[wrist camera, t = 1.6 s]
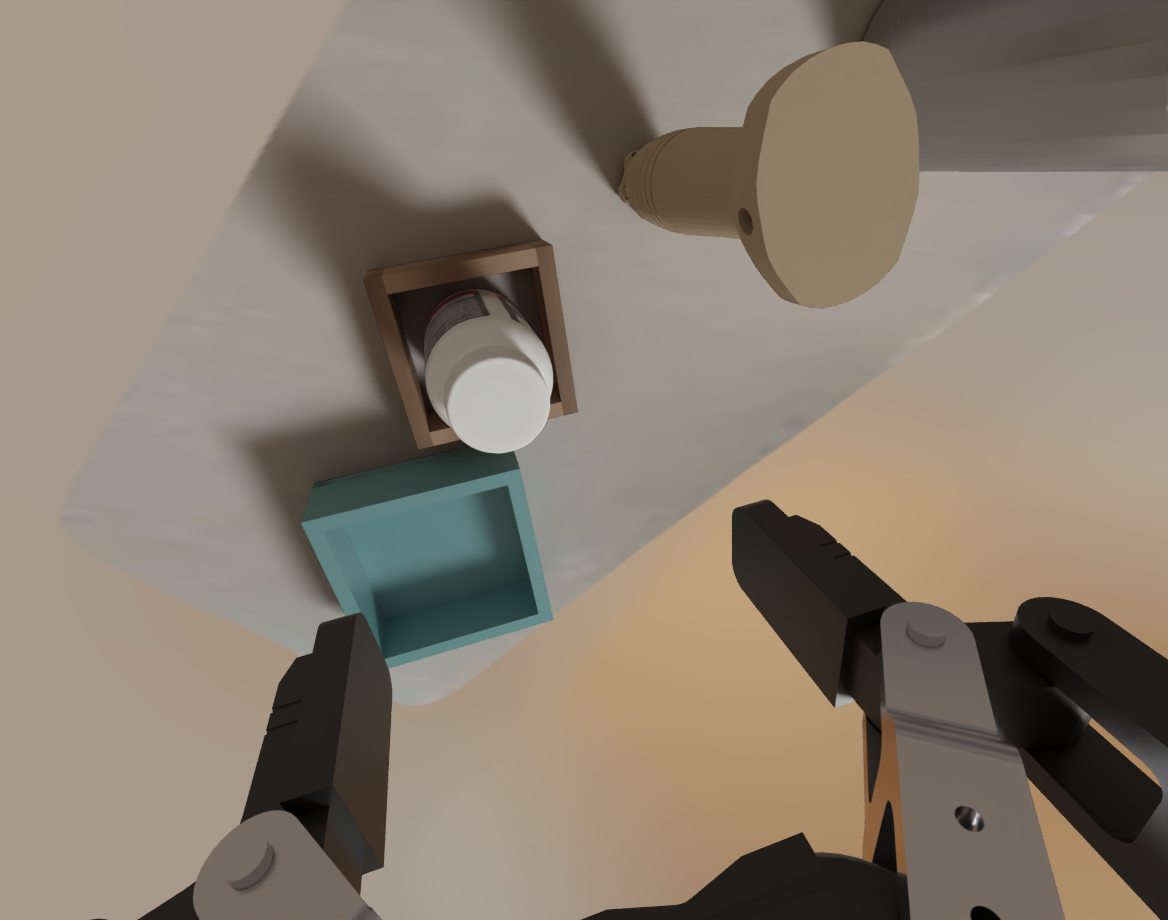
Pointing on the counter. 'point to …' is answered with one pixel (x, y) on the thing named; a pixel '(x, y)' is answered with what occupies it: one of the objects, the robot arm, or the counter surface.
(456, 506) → the tray
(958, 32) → the robot arm
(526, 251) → the brown open box
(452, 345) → the pill bottle
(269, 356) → the counter surface
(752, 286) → the counter surface
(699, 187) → the handle
